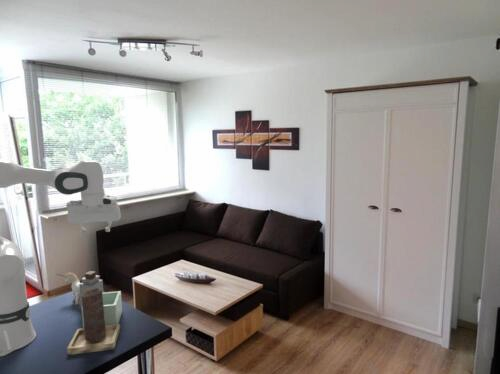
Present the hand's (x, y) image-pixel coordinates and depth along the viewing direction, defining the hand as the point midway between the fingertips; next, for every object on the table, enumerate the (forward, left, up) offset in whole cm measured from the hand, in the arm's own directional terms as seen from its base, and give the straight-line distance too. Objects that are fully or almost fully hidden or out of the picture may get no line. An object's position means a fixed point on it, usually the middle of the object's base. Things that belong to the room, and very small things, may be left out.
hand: (95, 232), depth 140 cm
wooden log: (+1, -17, -38) cm, 42 cm away
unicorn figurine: (-17, +18, -39) cm, 47 cm away
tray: (+1, -17, -39) cm, 43 cm away
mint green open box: (+1, -2, -39) cm, 39 cm away
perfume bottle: (-6, +9, -39) cm, 41 cm away
